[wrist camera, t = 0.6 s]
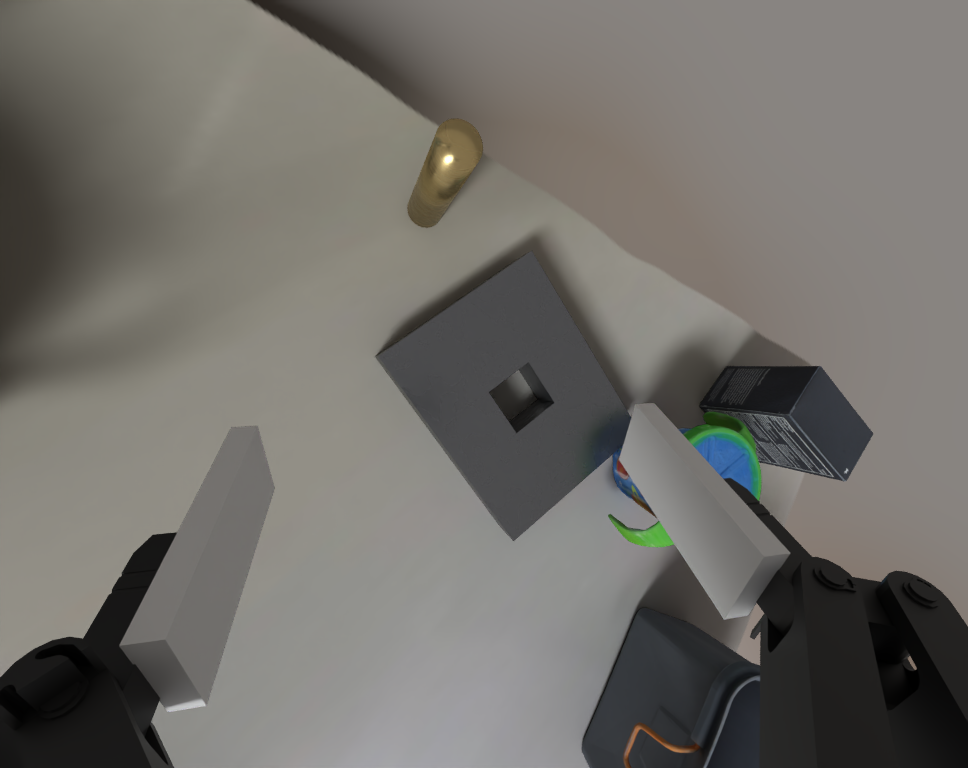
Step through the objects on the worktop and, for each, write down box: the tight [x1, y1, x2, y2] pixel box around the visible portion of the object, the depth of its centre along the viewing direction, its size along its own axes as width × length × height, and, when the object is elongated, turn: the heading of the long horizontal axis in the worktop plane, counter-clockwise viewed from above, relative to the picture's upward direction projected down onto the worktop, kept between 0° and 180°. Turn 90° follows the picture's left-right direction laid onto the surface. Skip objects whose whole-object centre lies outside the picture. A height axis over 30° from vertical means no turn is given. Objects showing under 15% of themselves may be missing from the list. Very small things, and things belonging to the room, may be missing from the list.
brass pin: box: [407, 119, 483, 228], centre depth 32 cm, size 3×3×12 cm
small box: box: [700, 366, 873, 481], centre depth 45 cm, size 11×6×10 cm, turn 49°
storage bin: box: [582, 608, 760, 768], centre depth 40 cm, size 21×16×14 cm
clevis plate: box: [376, 251, 631, 541], centre depth 39 cm, size 20×16×4 cm
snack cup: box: [608, 412, 761, 547], centre depth 41 cm, size 16×10×10 cm
